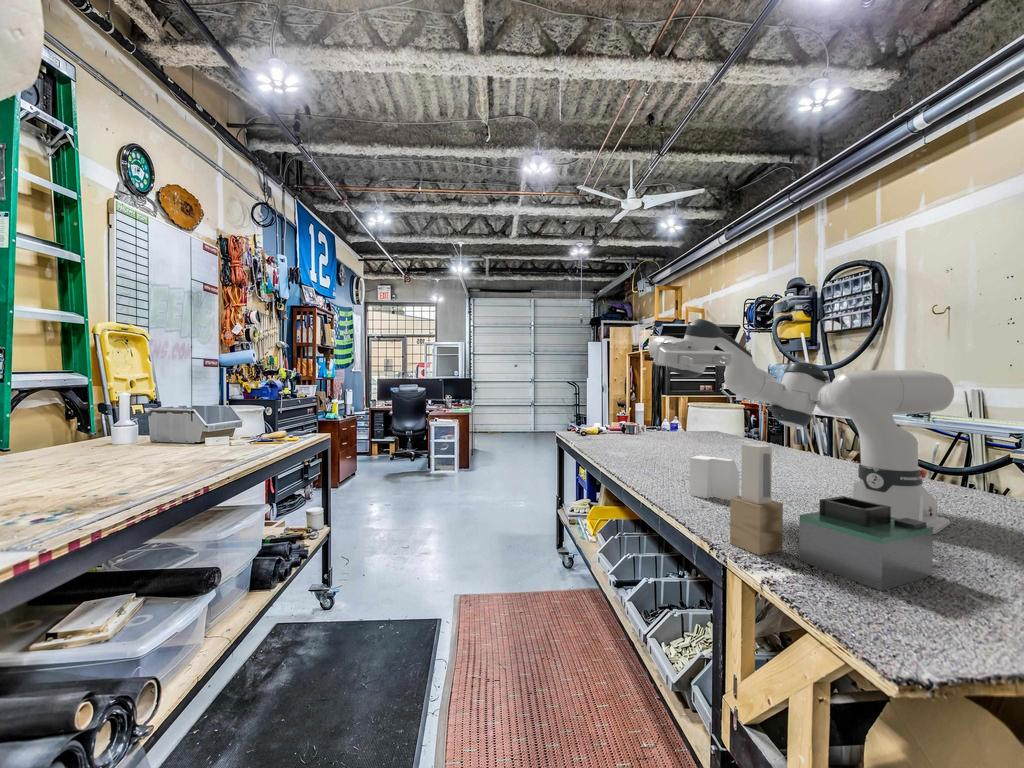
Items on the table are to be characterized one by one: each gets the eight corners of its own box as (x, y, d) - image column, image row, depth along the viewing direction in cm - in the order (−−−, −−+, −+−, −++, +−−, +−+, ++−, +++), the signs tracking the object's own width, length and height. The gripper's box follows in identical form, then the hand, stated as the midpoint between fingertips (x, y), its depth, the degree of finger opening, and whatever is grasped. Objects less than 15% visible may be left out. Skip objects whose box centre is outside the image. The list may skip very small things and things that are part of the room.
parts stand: (752, 539, 97) (752, 495, 97) (782, 550, 91) (782, 503, 91) (730, 543, 95) (730, 498, 95) (759, 555, 88) (759, 506, 88)
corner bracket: (689, 495, 136) (690, 457, 136) (705, 489, 143) (705, 453, 143) (725, 502, 128) (725, 462, 128) (739, 496, 135) (739, 458, 135)
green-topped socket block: (848, 548, 92) (848, 492, 92) (932, 575, 80) (932, 510, 79) (799, 559, 86) (799, 500, 86) (881, 591, 73) (882, 520, 73)
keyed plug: (754, 497, 95) (754, 443, 95) (774, 503, 91) (775, 446, 91) (741, 499, 94) (741, 444, 94) (761, 505, 89) (762, 447, 89)
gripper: (712, 365, 130) (743, 374, 117) (649, 364, 127) (674, 373, 114) (715, 344, 129) (747, 351, 116) (652, 343, 126) (677, 349, 112)
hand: (710, 362), depth 115 cm, fingers open, 8 cm apart
